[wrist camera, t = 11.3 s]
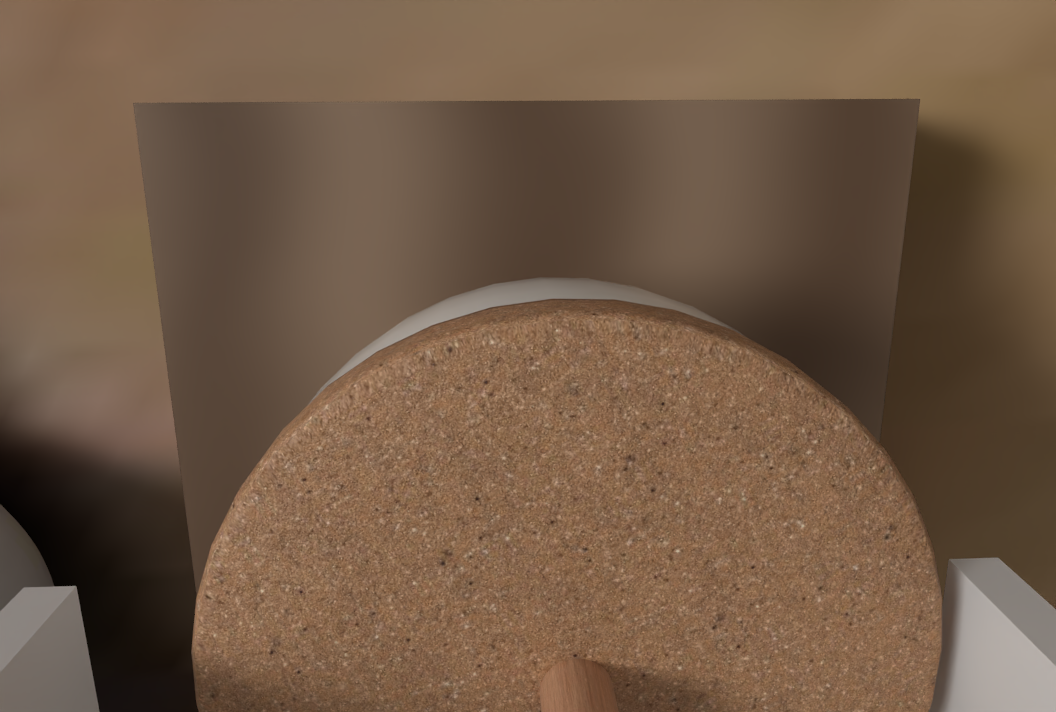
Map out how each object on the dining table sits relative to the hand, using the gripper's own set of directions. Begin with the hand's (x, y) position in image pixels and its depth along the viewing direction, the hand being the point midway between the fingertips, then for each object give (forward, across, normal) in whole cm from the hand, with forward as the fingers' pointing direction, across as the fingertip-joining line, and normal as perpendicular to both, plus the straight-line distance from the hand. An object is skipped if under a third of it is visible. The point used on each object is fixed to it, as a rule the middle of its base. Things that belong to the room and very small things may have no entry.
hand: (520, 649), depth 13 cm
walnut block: (+12, 0, 0) cm, 12 cm away
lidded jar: (+7, +1, 0) cm, 7 cm away
